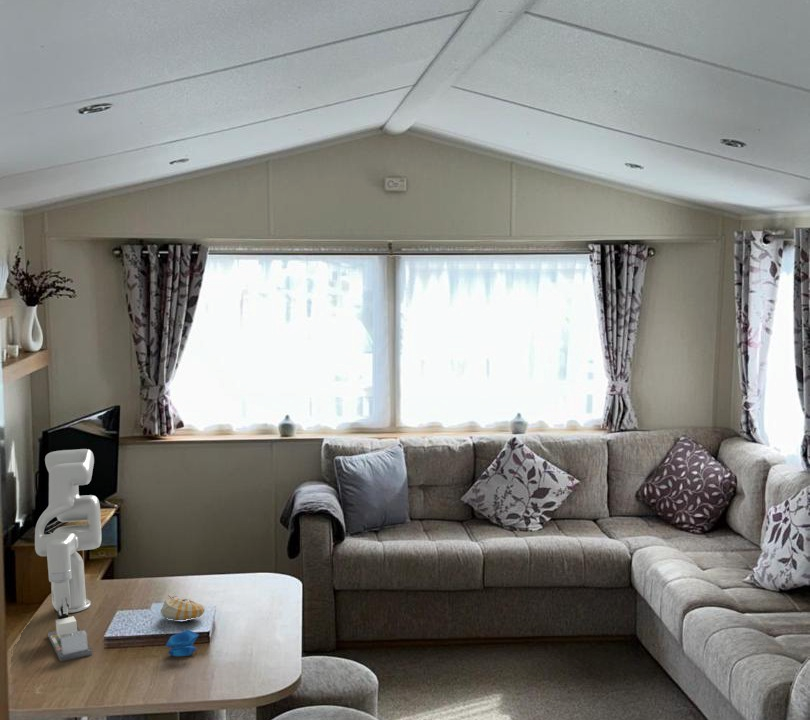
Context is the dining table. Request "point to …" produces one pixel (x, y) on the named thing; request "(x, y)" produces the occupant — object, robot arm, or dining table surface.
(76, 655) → the gauge bench
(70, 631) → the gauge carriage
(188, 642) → the blue double-lobed piece
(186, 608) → the nautilus
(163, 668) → the dining table surface
